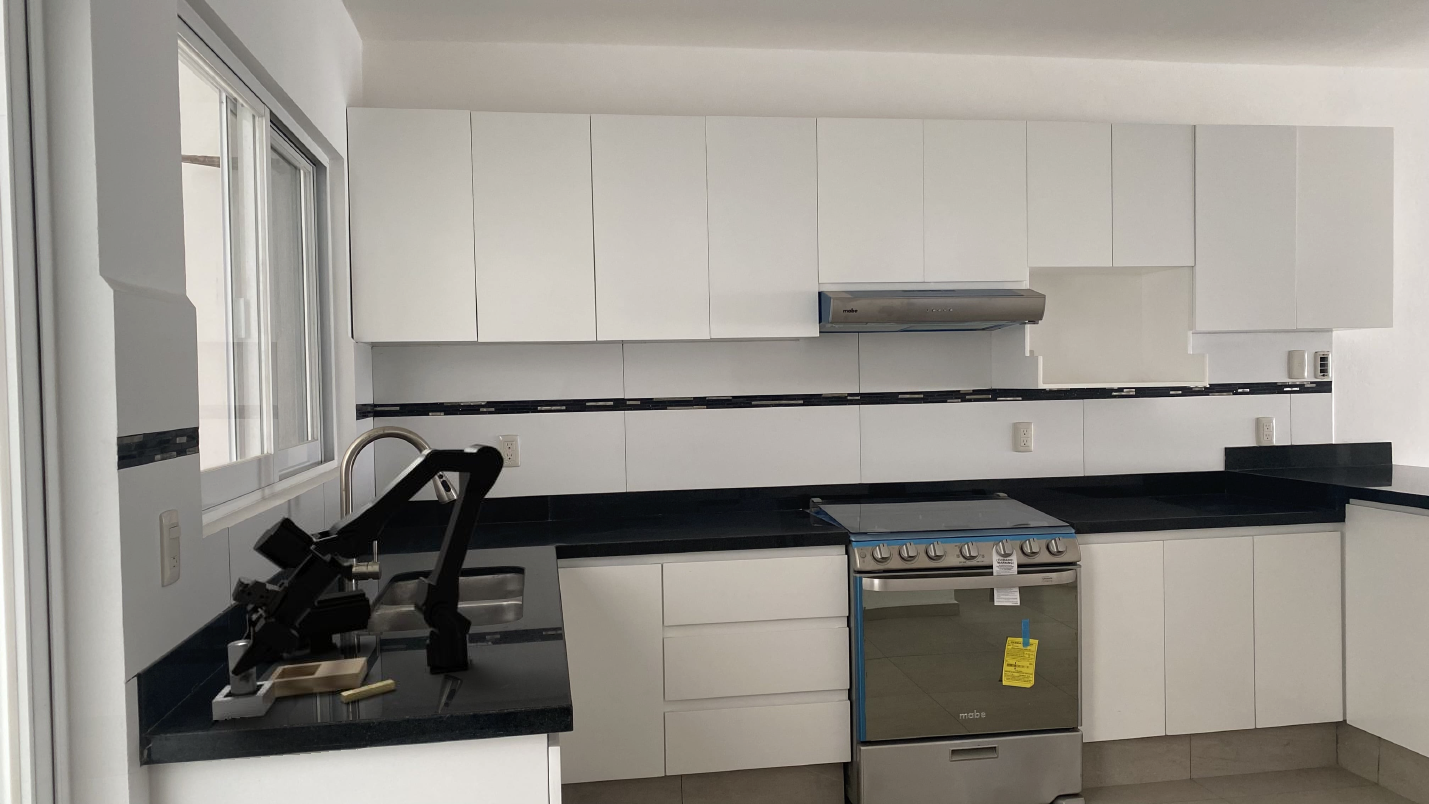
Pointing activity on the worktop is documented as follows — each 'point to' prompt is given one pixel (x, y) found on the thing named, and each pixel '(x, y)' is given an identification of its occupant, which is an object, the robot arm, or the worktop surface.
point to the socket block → (244, 702)
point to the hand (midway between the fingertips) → (232, 669)
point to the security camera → (333, 619)
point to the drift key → (367, 691)
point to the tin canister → (245, 681)
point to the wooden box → (319, 676)
